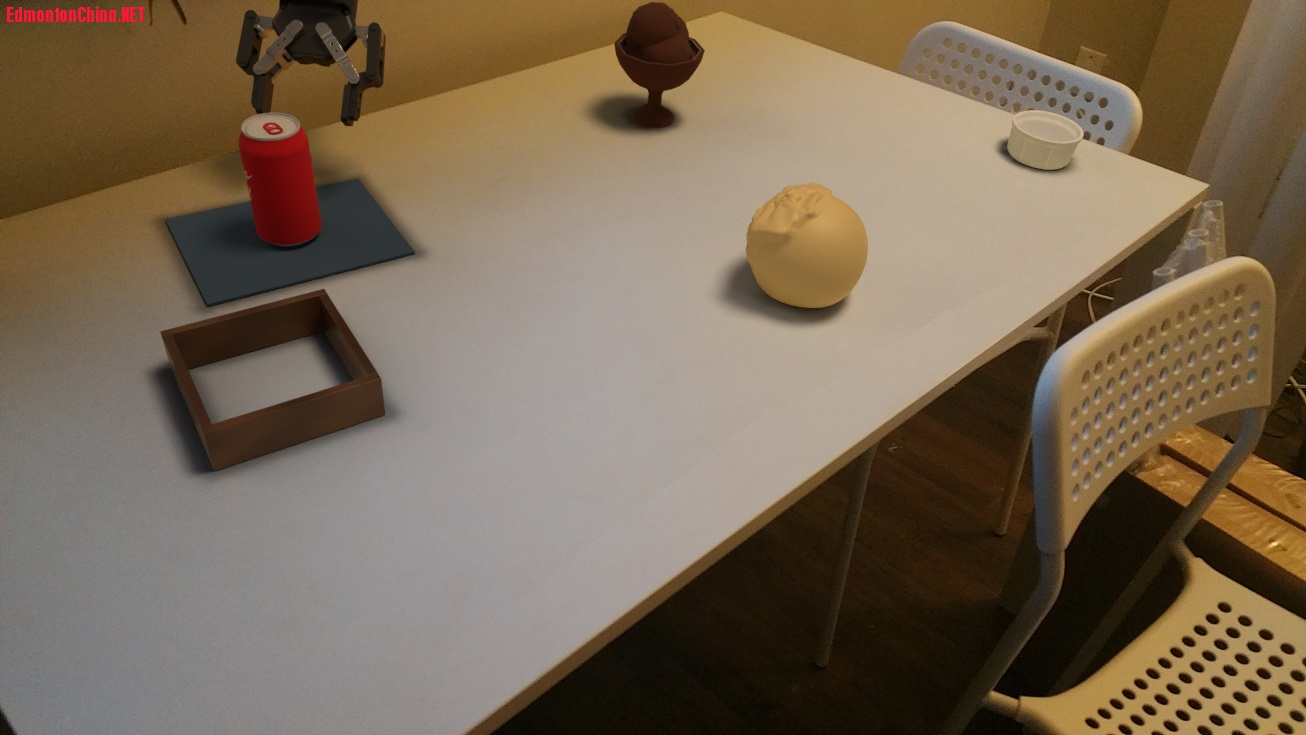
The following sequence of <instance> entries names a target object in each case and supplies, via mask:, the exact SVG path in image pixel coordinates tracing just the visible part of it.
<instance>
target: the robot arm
mask: <svg viewBox="0 0 1306 735" xmlns="http://www.w3.org/2000/svg"><path fill="white" fill-rule="evenodd" d="M278 2H279V4H278V10H277V12H276V14H274V16H273V17H271V16H266V15H260V14H258V13H257V11H255V10H253V9H248V10H247V11H245V13H244V15H243V16H244V17H243V21H242V27H241V31H240V37H239V40H238V41H239V42H238V46H237V52H236V57H235V62H236V66H238V67H239V68H240V69H241V71H243V72H244V73H245V74H246V75H247V76H251V77H253V82H252V90H251V97H250V103H251V107H252V108H253V109H254V110H255V113H256V115H258V114H263V113H272V104H273V95H274V90H275V89H274V87H275V84H274V83H273V81H274V80H275V79H276V78H277V77H278V76H279V75H280V74H281V73H282V72H284V71H285V70H288V69H289V68H290V67H291V66H292V65H294V63H295V62H297V63H298V64H299V65H309V66H310V65H314V64H315V65H318V66H321V67H325V68H330V67H331V66H332V65H334V64H337V65H338V67H339V69H340V70H341V72H342V74H343V76H344V77H345V78H346V79H347V84H346V83H345V84H344V86H343V93H342V103H341V111H340V122H341V123H342V124H343V125H344V126H345V127H354V123H355V122H358V121H359V119H360V118H361V111H362V103H363V94H364V92H365V91H366V90H367V89H371V88H376V89H380V88H382V87H383V86H384V82H385V81H384V80H385V58H386V42H387V40H386V39H387V38H386V34H385V32H384V31H383V29H382V27H381V26H380V24H379V23H377V22H374V21H373V22H371V23H369V24H368V25H357V23H356V22H357V21H356V19H357V14H358V13H357V12H358V4H359V0H279V1H278ZM272 31H274V32H275V34H276V36H277V38H276V39H275V40H274V41H272V43H271V44H270V45H268V47H267V48H266V50H265V51H266V52H265V53H264V55H262V56H261V49H262V45H263V40H264V39H268V37H269V34H270V33H271V32H272ZM358 39H360V40H361V43H362V45H363V46H364V48H365V49H366V59H365V60H366V61H365V70H364V71H361V72H358V70H357V69H356V67H355V65H354V64H353V62H352V60H351V59H350V57H349V56H348V55H347V52H348V51H349V50H350V49H351V48H352V47H353V46H354V44H356V43H357V41H358ZM260 56H261V57H260Z"/></svg>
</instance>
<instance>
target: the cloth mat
mask: <svg viewBox="0 0 1306 735" xmlns="http://www.w3.org/2000/svg"><path fill="white" fill-rule="evenodd" d="M316 192H317V198H318V204H319V210H320V217H321V223H322V227H321V230H320V232H319V233H318V234H317V235H316V236H315V237H314V238H313V239H311V240H310V241H308V242H306V243H304V244H301V245H297V246H290V247H283V246H277V245H274V244H270V243H268V242H266V241H264V240H262V239H261V238H260V237H259V236H258V234H257V230H256V226H255V221H254V216H253V212H252V207H251V202H250V200H249V201H243V202H239V203H235V204H229V205H225V206H220V207H215V208H212V209H205V210H202V211H197V212H192V213H188V214H183V215H177V216H173V217H169V218H165V223H166V225H167V226H168V229H169V231H170V233H171V235H172V237H173V239H174V241H175V243H176V245H177V247H178V250H179V251H180V253H181V256H182V257H183V259H184V261H185V263H186V265H187V268H188V271H189V272H190V274H191V276H192V278H193V280H194V282H195V284H196V286H197V288H198V290H199V292H200V294H201V296H202V298H203V300H204V302H205V304H206V306H207V307H208V308H209V307H213V306H217V305H221V304H224V303H228V302H232V301H237V300H240V299H244V298H248V297H252V296H256V295H260V294H263V293H264V294H265V293H268V292H271V291H275V290H280V289H283V288H287V287H291V286H295V285H298V284H299V285H300V284H302V283H303V284H304V283H306V282H311V281H315V280H319V279H323V278H327V277H330V276H334V275H339V274H342V273H347V272H350V271H353V270H357V269H362V268H365V267H370V266H373V265H377V264H381V263H385V262H390V261H393V260H397V259H401V258H404V257H409V256H413V255H415V254H416V251H415V250H414V249H413V247H412V246H411V245H410V243H409V241H408V240H407V239H406V238H405V237H404V236H403V234H402V233H401V231H399V229H398V228H397V226H396V225H395V224H394V222H393V221H392V220H391V219H390V217H389V216H388V215H387V213H386V212H385V211H384V209H383V208H382V207H381V206H380V204H379V203H378V202H377V201H376V199H375V198H374V197H373V195H371V193H370V192H369V190H368V189H367V188H366V187H365V185H364V184H363V182H361V180H360V179H359V178H358V177H357V178H353V179H348V180H343V181H338V182H334V183H329V184H324V185H319V186H316Z"/></svg>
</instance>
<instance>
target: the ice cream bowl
mask: <svg viewBox="0 0 1306 735" xmlns="http://www.w3.org/2000/svg"><path fill="white" fill-rule="evenodd" d="M613 44H614V52H615V56H616V58H617V61H618V63H619V66H620V67H621V69H622V70H623V72H624V73H625V75H627V77H628V78H629V79H630V80H631V81H632V82H633V83H634V84H636V85H637V86H639V87H641V88H643V89H646V90H647V93H648V94H647V96H648V97H647V103H645V104H642V105H639V106H636V108H635V109H634V110H633V111H632V114H631V117H632V119H633V121H634V122H635V123H637V124H638V125H639V124H640V125H641V126H644V127H648V128H664V127H667V126H672V124H673V122H674V121H675V115H674V113H673V112H672V111H671V110H670V108H668V107H666V106H664V105H663V104H662V100H663V99H662V98H663V93H664V92H666V91H671V90H673V89H677V88H678V87H682V85H685V83H686V82H688V81H689V80H690V79H691V78H692V76H693V75H694V73H695V72H696V70H697V69H698V67H699V66H700V65H701V62H702V60H703V58H704V54H705V52H706V50H705V49H704V47H702V45H701V44H700V43H699V41H697V39H695V38H693V37H690V32H689V30H688V26H687V22H685V20H684V19H683V18H681V16H679V14H678V13H676V12H675V10H674V9H673V8H672V7H670V6H669V5H668V4H667V3H666V2H660V1H659V2H657V1H650V2H648V3H645V4H643V5H640V6H638V7H637V8H636V9H635V10H634V11H632V16H631V17H630V19H629V22H628V25H627V27H626V32H624V33H622V34H621V35H620V36H619V37H618V39H616V40H615V41H614V43H613Z"/></svg>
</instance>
